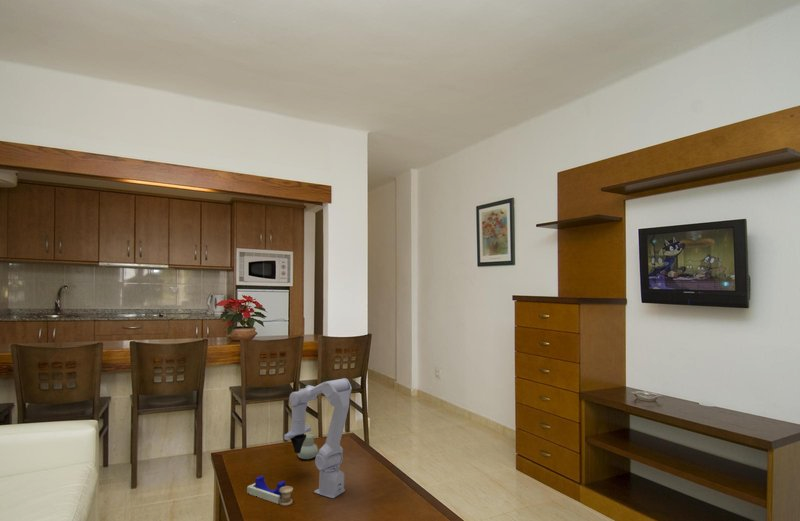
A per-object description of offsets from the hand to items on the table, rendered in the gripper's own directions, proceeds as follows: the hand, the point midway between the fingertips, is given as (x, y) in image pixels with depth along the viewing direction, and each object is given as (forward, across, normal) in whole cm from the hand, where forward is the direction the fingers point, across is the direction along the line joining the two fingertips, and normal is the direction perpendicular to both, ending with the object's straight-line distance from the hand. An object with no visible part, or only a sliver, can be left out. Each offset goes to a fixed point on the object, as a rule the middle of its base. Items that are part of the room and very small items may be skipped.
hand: (297, 452), depth 194 cm
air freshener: (+10, -19, -11) cm, 24 cm away
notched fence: (+10, +18, +3) cm, 21 cm away
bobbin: (+10, +20, +12) cm, 25 cm away
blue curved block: (+10, +18, +3) cm, 21 cm away
